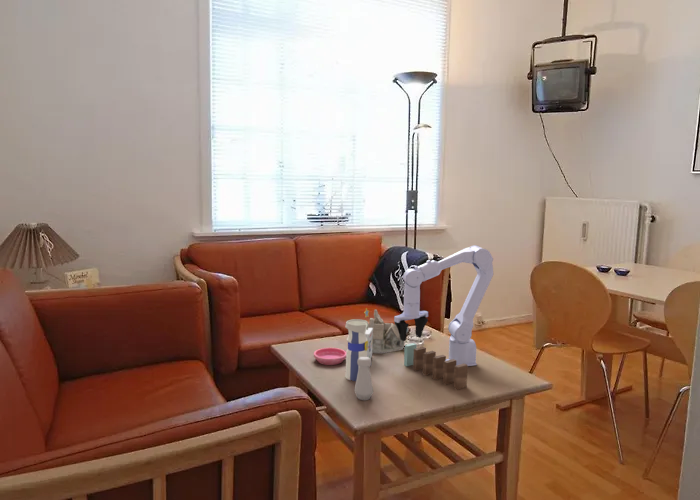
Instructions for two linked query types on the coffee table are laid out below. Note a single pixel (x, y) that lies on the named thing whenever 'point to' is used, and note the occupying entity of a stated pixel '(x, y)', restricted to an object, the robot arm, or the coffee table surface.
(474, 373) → the coffee table surface
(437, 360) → the domino
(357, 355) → the water bottle
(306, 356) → the coffee table surface
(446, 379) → the domino
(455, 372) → the domino
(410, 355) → the domino
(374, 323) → the ceramic cottage
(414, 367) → the domino
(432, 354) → the domino
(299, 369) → the coffee table surface
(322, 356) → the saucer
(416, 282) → the robot arm
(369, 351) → the ink box
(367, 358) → the salt shaker
